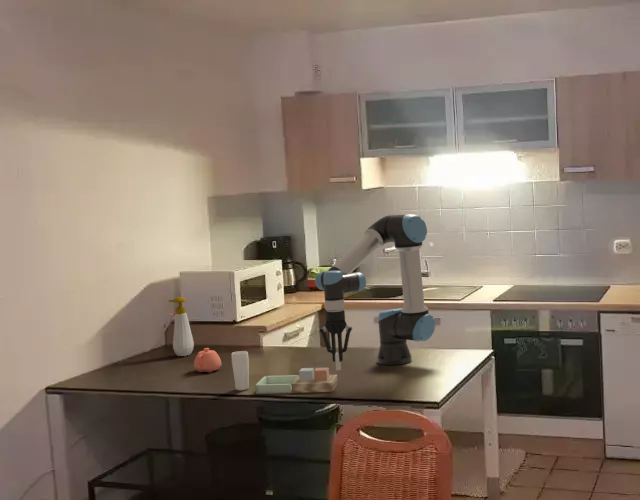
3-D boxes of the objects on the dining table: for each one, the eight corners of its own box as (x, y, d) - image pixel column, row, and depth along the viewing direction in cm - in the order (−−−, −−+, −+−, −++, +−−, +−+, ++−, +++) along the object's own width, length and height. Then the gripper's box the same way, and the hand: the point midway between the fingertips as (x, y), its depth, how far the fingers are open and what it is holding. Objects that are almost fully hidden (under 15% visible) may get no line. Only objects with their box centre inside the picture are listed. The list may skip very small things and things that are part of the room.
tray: (298, 383, 378) (298, 375, 378) (290, 393, 362) (289, 384, 362) (265, 384, 381) (264, 376, 380) (255, 394, 365) (255, 385, 365)
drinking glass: (234, 388, 378) (231, 351, 376) (250, 386, 378) (248, 350, 377) (233, 391, 371) (231, 354, 370) (250, 390, 372) (248, 353, 370)
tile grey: (314, 377, 371) (313, 367, 370) (312, 380, 366) (311, 370, 366) (302, 378, 372) (301, 368, 371) (299, 381, 367) (299, 371, 367)
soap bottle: (181, 352, 463) (176, 294, 461) (198, 353, 459) (194, 294, 456) (166, 357, 452) (161, 298, 449) (183, 358, 447) (178, 298, 445)
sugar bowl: (226, 368, 418) (225, 345, 417) (210, 375, 406) (208, 352, 405) (203, 367, 424) (202, 345, 423) (186, 374, 411) (185, 351, 410)
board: (337, 383, 374) (337, 374, 374) (332, 391, 360) (331, 382, 360) (298, 384, 377) (298, 375, 377) (291, 392, 363) (291, 383, 363)
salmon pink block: (329, 377, 370) (328, 367, 369) (327, 380, 365) (326, 370, 364) (316, 377, 371) (316, 367, 370) (314, 380, 366) (313, 370, 365)
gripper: (352, 308, 367) (356, 367, 368) (320, 309, 369) (323, 368, 371) (349, 311, 359) (353, 371, 361) (316, 312, 362) (320, 372, 363)
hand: (338, 369), depth 366 cm, fingers closed
